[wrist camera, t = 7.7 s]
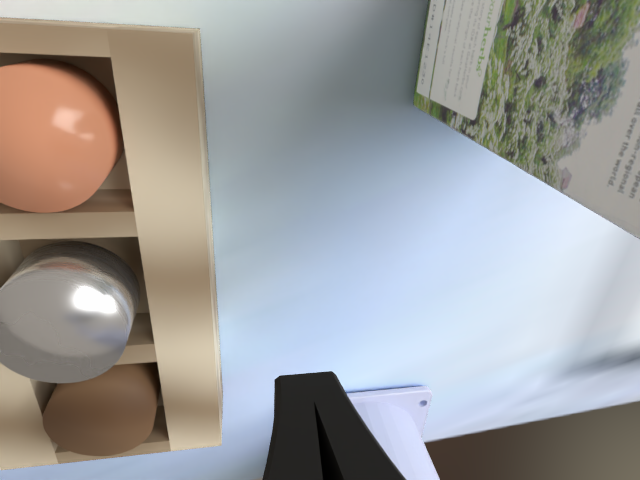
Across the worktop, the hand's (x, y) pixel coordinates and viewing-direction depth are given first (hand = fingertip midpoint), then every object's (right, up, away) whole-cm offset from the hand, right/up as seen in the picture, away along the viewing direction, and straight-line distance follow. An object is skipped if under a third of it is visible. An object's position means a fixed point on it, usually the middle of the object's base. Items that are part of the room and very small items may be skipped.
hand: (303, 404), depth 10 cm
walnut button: (-9, -2, +9) cm, 13 cm away
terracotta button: (-8, +8, +4) cm, 12 cm away
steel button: (-8, +2, +5) cm, 10 cm away
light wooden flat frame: (-9, +3, +7) cm, 12 cm away
